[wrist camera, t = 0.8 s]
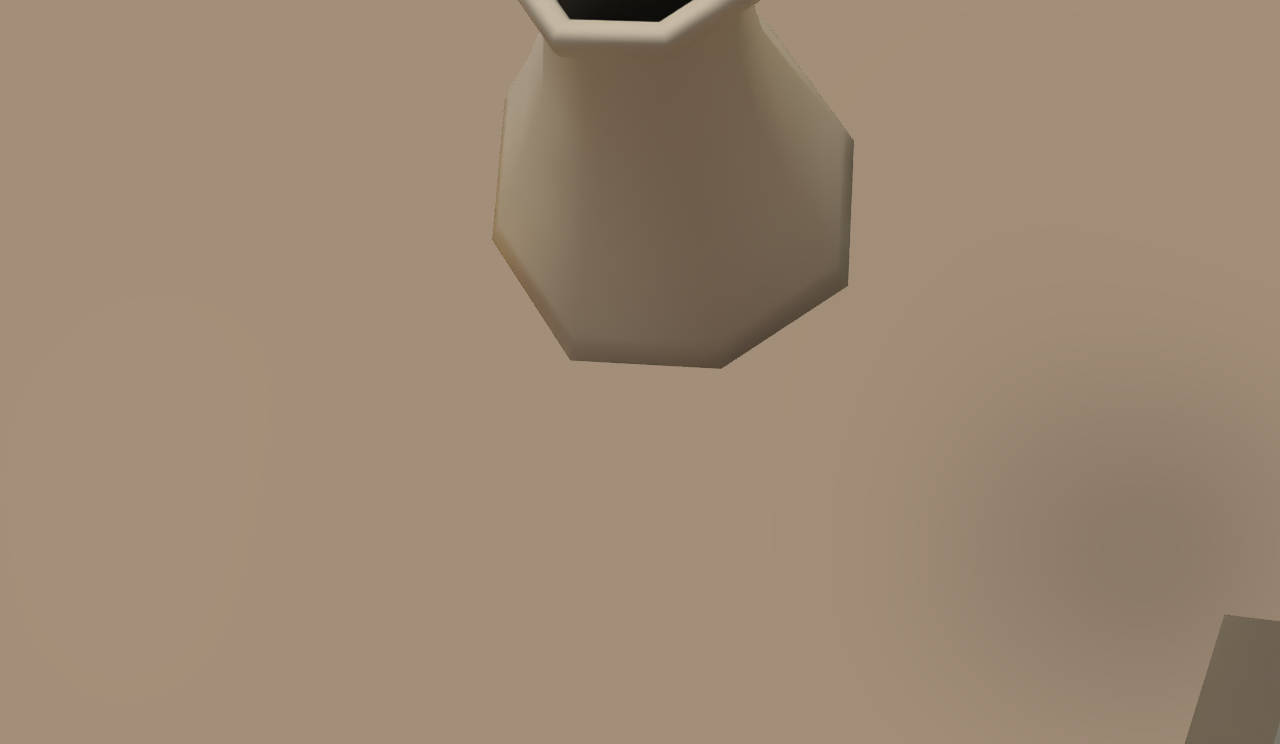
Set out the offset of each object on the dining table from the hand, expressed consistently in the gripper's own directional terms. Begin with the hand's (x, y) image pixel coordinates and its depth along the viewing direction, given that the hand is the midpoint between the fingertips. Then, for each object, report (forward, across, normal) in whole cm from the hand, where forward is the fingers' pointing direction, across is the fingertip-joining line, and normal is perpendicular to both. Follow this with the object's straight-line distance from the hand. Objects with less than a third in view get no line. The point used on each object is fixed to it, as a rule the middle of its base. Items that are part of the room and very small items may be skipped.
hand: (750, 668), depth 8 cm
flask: (+15, 0, +3) cm, 15 cm away
